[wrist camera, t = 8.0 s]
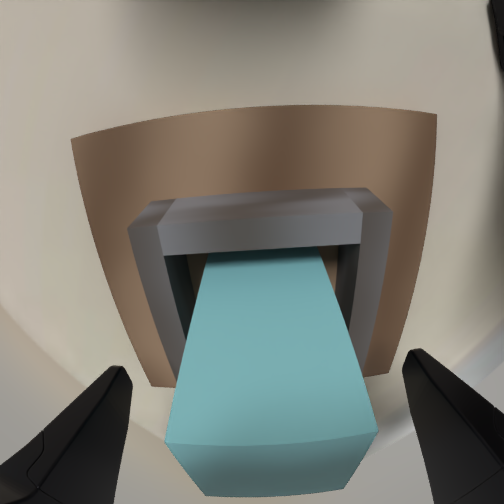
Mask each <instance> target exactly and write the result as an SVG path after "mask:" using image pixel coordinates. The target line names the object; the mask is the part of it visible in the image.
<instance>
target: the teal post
mask: <svg viewBox="0 0 504 504" xmlns="http://www.w3.org/2000/svg"><path fill="white" fill-rule="evenodd" d="M377 433H378V427H377V424H376V420H375V417H374V413H373V410H372V406H371V403H370V399H369V396H368V393H367V389H366V386H365V383H364V379H363V376H362V373H361V370H360V367H359V364H358V360H357V357H356V354H355V351H354V348H353V345H352V342H351V339H350V336H349V333H348V330H347V327H346V324H345V321H344V319H343V316H342V313H341V310H340V307H339V304H338V302H337V299H336V296H335V293H334V290H333V288H332V285H331V282H330V280H329V277H328V274H327V272H326V269H325V266H324V264H323V261H322V258H321V256H320V253H319V251H318V248H317V246H310V247H294V248H278V249H261V250H245V251H229V252H213V253H209V254H208V258H207V261H206V265H205V269H204V273H203V276H202V280H201V284H200V288H199V292H198V296H197V300H196V304H195V308H194V312H193V316H192V320H191V324H190V328H189V332H188V336H187V340H186V345H185V349H184V353H183V358H182V362H181V366H180V371H179V375H178V380H177V384H176V389H175V393H174V398H173V403H172V407H171V412H170V417H169V422H168V427H167V432H166V437H165V444H166V445H167V447H168V448H169V449H170V451H171V452H172V453H173V455H174V456H175V458H176V459H177V460H178V462H179V463H180V464H181V466H182V467H183V468H184V470H185V471H186V472H187V474H188V475H189V476H190V477H191V479H192V480H193V481H194V482H195V484H196V485H197V486H198V487H199V489H200V490H201V491H202V492H203V493H204V494H205V496H217V497H218V496H219V497H274V496H290V495H301V494H311V493H319V492H326V491H333V490H339V489H344V487H345V485H346V484H347V483H348V481H349V480H350V478H351V477H352V475H353V474H354V472H355V470H356V469H357V467H358V466H359V464H360V462H361V461H362V459H363V457H364V456H365V454H366V452H367V451H368V449H369V447H370V445H371V444H372V442H373V440H374V438H375V436H376V435H377Z"/></svg>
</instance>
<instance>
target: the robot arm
mask: <svg viewBox="0 0 504 504" xmlns="http://www.w3.org/2000/svg"><path fill="white" fill-rule="evenodd" d="M491 1H492V6H493V11H494V16H495V22H496V28H497V34H498V42H499V51H500V61H501V67H502V69H503V71H504V0H491ZM402 374H403V378H404V383H405V388H406V393H407V398H408V403H409V408H410V413H411V416H412V420H413V423H414V426H415V430H416V433H417V436H418V440H419V444H420V447H421V451H422V455H423V458H424V462H425V466H426V470H427V474H428V478H429V483H430V487H431V491H432V496H433V501H434V504H504V414H503V413H502V412H501V411H500V410H498V409H497V408H496V407H495V408H494V406H493V405H492V404H491V403H490V402H489V401H487V400H486V399H485V398H484V397H482V396H481V395H480V394H478V393H477V392H476V391H475V390H474V389H472V388H471V387H470V386H469V385H467V384H466V383H465V382H464V381H462V380H461V379H460V378H459V377H457V376H456V375H455V374H454V373H452V372H451V371H450V370H449V369H447V368H446V367H445V366H443V365H442V364H441V363H440V362H438V361H437V360H436V359H434V358H433V357H432V356H431V355H429V354H428V353H427V352H425V351H424V350H423V349H421V348H418V349H413V350H410V351H409V352H408V354H407V356H406V359H405V362H404V364H403V368H402ZM132 390H133V385H132V381H131V379H130V377H129V375H128V374H127V372H126V370H125V368H124V367H123V366H115V365H113V366H110V367H109V368H108V369H107V370H106V371H105V372H104V373H103V374H102V375H101V376H100V377H98V378H97V379H96V380H95V381H94V382H93V383H92V384H91V385H90V386H89V387H88V388H87V389H86V390H84V391H83V392H82V393H81V394H80V395H79V396H78V397H77V398H76V399H75V400H74V401H73V402H72V403H71V404H70V405H69V406H68V407H66V408H65V409H64V410H63V411H62V412H61V413H60V414H59V415H58V416H57V417H56V418H55V419H54V420H53V421H52V422H51V423H49V424H48V425H47V426H46V427H45V428H44V430H42V431H41V432H40V433H39V434H38V435H37V436H36V437H35V438H33V439H32V440H31V441H30V442H29V443H28V444H27V445H26V446H24V447H23V448H22V449H21V450H19V451H18V452H17V453H16V454H14V455H13V456H12V457H11V458H9V459H8V460H6V461H5V462H4V463H3V464H2V465H0V504H113V503H114V497H115V491H116V485H117V480H118V474H119V469H120V464H121V459H122V453H123V449H124V444H125V440H126V434H127V430H128V424H129V415H130V406H131V398H132Z"/></svg>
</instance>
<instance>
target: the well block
mask: <svg viewBox="0 0 504 504" xmlns="http://www.w3.org/2000/svg"><path fill="white" fill-rule="evenodd" d="M436 130H437V114H432V113H426V112H419V111H411V110H402V109H391V108H379V107H365V106H343V105H285V106H263V107H248V108H235V109H224V110H215V111H206V112H198V113H191V114H184V115H177V116H171V117H165V118H159V119H153V120H148V121H142V122H137V123H133V124H128V125H123V126H119V127H114V128H110V129H106V130H102V131H98V132H94V133H90V134H86V135H82V136H79V137H76V138H73V139H71V144H72V150H73V155H74V160H75V165H76V170H77V175H78V180H79V184H80V189H81V193H82V197H83V201H84V205H85V209H86V213H87V217H88V221H89V224H90V228H91V231H92V235H93V238H94V242H95V245H96V248H97V252H98V255H99V258H100V261H101V264H102V267H103V270H104V273H105V276H106V279H107V282H108V285H109V288H110V290H111V293H112V296H113V299H114V301H115V304H116V306H117V309H118V312H119V314H120V317H121V319H122V322H123V324H124V327H125V329H126V331H127V334H128V336H129V339H130V341H131V343H132V345H133V348H134V350H135V352H136V354H137V357H138V359H139V361H140V363H141V365H142V367H143V370H144V372H145V374H146V376H147V378H148V380H149V382H150V384H151V386H153V387H170V388H176V384H177V380H178V375H179V371H180V366H181V362H182V358H183V353H184V349H185V345H186V340H187V336H188V332H189V328H190V324H191V320H192V316H193V312H194V308H195V304H196V300H197V296H198V292H199V288H200V284H201V280H202V276H203V273H204V269H205V265H206V261H207V258H208V254H209V253H213V252H229V251H245V250H261V249H278V248H294V247H310V246H317V248H318V251H319V253H320V256H321V258H322V261H323V264H324V266H325V269H326V272H327V274H328V277H329V280H330V282H331V285H332V288H333V290H334V293H335V296H336V299H337V302H338V304H339V307H340V310H341V313H342V316H343V319H344V321H345V324H346V327H347V330H348V333H349V336H350V339H351V342H352V345H353V348H354V351H355V354H356V357H357V360H358V364H359V367H360V370H361V373H362V376H363V377H368V376H374V375H380V374H386V373H389V370H390V367H391V364H392V362H393V359H394V356H395V353H396V350H397V347H398V344H399V341H400V338H401V334H402V331H403V328H404V325H405V321H406V318H407V314H408V311H409V307H410V303H411V299H412V296H413V292H414V288H415V283H416V279H417V275H418V270H419V266H420V261H421V256H422V251H423V246H424V241H425V235H426V229H427V223H428V217H429V210H430V203H431V195H432V186H433V176H434V165H435V151H436Z"/></svg>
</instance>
